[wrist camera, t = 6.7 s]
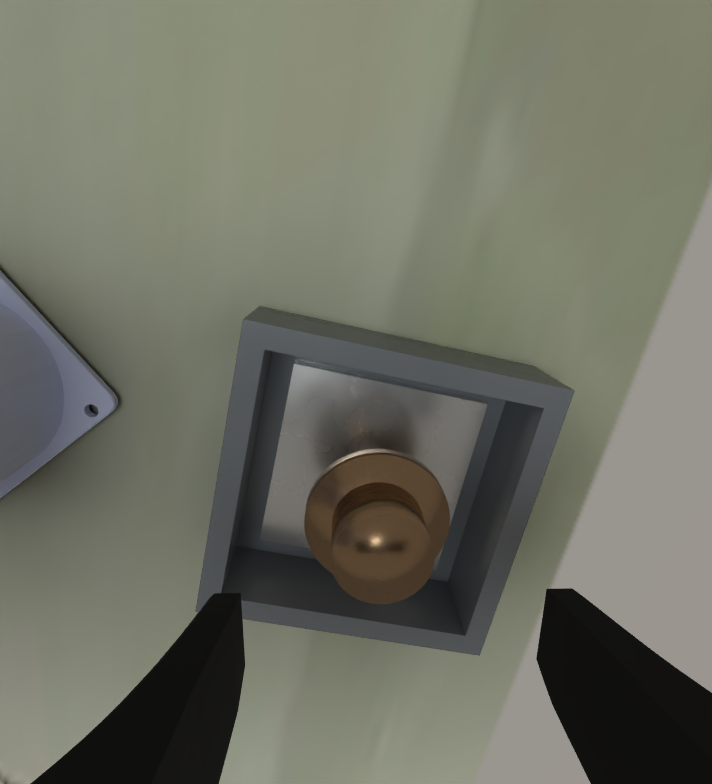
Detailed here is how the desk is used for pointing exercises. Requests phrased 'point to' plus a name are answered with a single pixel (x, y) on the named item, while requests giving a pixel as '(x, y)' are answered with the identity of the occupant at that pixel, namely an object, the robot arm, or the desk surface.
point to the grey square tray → (472, 513)
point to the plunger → (369, 477)
